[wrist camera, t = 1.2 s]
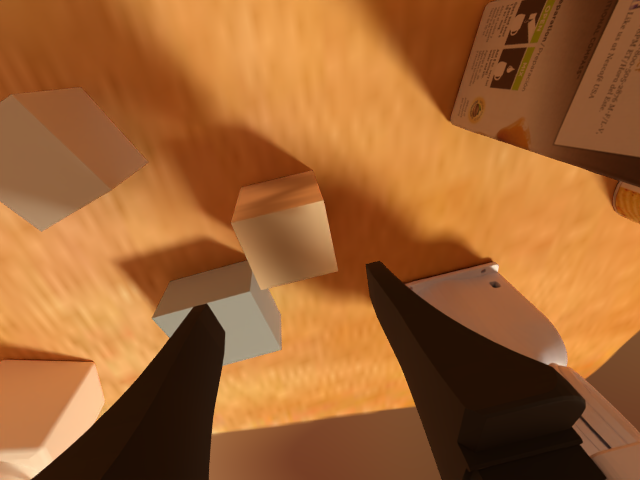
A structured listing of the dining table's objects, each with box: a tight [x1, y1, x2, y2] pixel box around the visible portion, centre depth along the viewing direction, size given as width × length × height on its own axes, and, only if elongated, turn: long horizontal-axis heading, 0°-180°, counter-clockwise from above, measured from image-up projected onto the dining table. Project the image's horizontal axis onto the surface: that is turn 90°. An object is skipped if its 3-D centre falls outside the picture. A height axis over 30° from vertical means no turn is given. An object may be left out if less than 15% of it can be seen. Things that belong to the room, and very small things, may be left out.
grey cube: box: [0, 87, 148, 232], centre depth 14 cm, size 4×4×4 cm
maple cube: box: [231, 170, 338, 290], centre depth 17 cm, size 5×5×5 cm
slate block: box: [152, 260, 282, 366], centre depth 22 cm, size 7×7×4 cm
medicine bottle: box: [0, 360, 105, 480], centre depth 21 cm, size 7×7×12 cm
